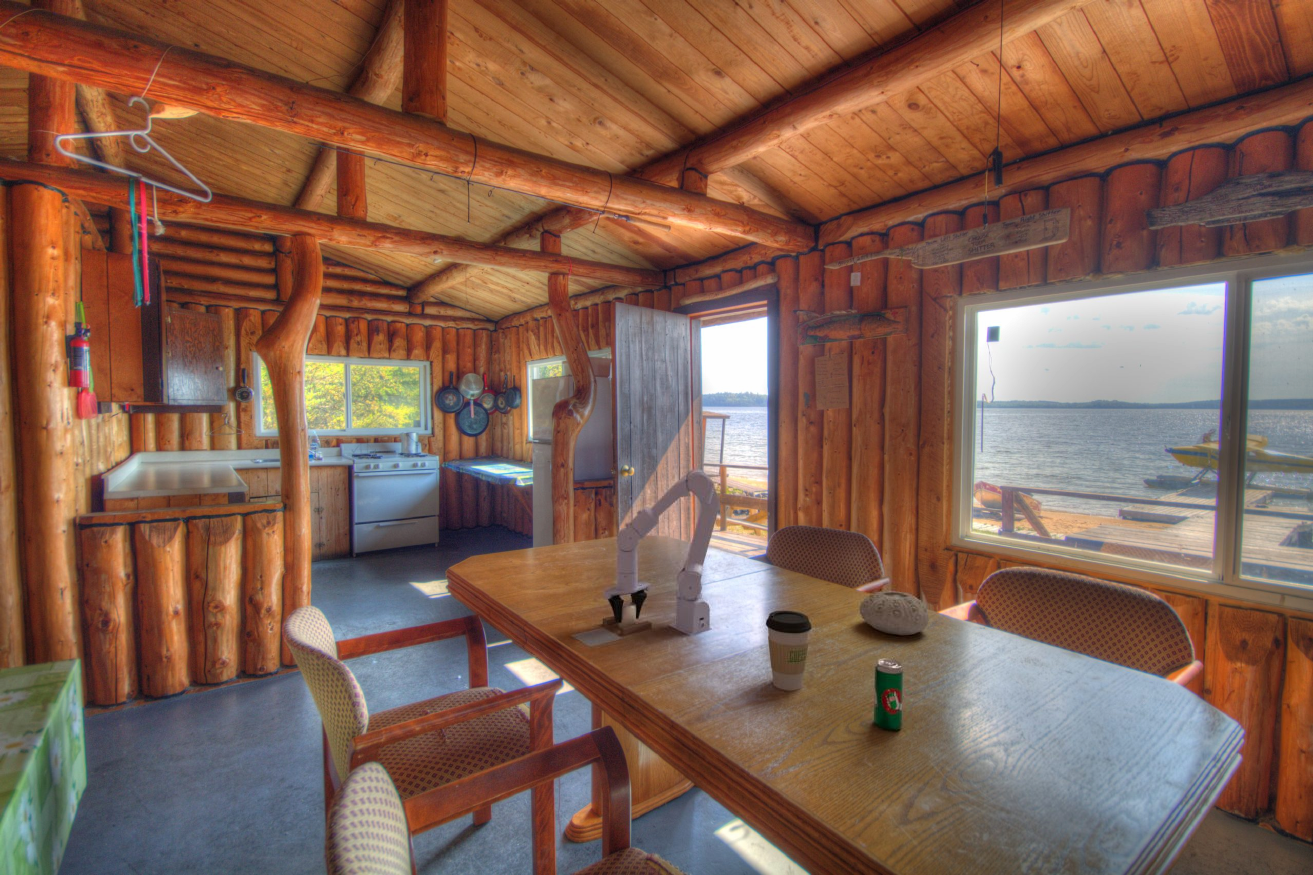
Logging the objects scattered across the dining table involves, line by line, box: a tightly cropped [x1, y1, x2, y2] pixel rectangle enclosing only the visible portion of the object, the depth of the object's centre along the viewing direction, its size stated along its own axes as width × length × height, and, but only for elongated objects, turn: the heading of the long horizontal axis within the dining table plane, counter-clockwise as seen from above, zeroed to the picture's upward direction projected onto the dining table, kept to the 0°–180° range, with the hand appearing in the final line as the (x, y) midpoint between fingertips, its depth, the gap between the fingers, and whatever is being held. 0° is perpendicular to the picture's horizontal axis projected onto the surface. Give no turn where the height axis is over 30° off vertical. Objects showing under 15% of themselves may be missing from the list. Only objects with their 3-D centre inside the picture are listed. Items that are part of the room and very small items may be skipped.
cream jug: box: [618, 601, 637, 628], centre depth 166 cm, size 7×5×6 cm
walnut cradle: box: [602, 615, 653, 637], centre depth 165 cm, size 11×9×2 cm
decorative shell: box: [859, 590, 929, 636], centre depth 166 cm, size 18×18×10 cm
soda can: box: [873, 658, 904, 732], centre depth 113 cm, size 5×5×12 cm
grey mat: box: [570, 627, 623, 648], centre depth 157 cm, size 10×10×1 cm
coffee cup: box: [765, 610, 812, 692], centre depth 130 cm, size 10×10×15 cm
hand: (627, 619), depth 165 cm, fingers open, 5 cm apart
